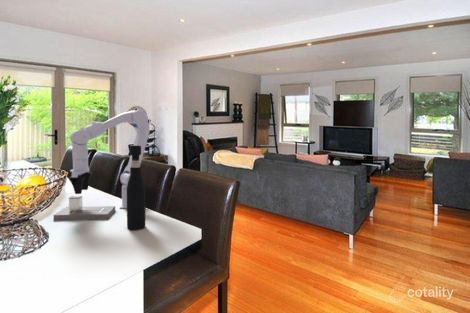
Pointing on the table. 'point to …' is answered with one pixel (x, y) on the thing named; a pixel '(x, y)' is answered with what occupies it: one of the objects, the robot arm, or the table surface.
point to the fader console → (85, 213)
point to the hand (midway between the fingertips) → (81, 191)
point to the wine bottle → (135, 193)
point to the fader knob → (75, 203)
